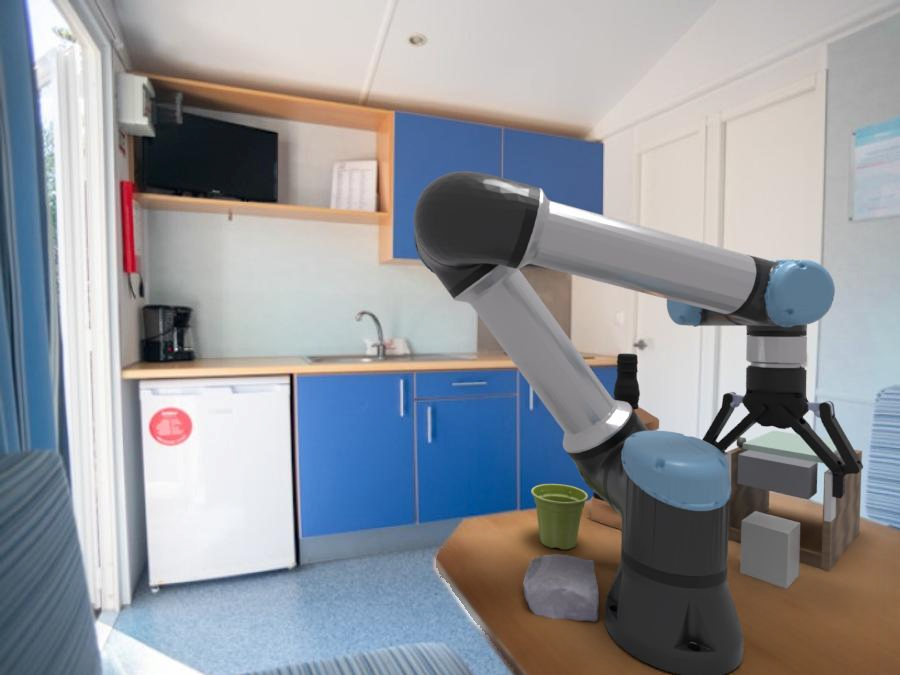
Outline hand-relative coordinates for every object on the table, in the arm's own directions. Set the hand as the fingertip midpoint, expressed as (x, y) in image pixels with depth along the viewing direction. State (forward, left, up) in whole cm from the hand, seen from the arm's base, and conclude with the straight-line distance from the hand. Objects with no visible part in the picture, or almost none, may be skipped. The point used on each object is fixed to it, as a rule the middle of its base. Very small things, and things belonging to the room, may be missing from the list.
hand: (773, 505), depth 74 cm
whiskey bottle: (+2, +25, -11) cm, 27 cm away
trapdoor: (+18, +2, 0) cm, 18 cm away
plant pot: (-16, +27, -11) cm, 33 cm away
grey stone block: (0, 0, -11) cm, 10 cm away
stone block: (-30, +17, -11) cm, 36 cm away
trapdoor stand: (+19, +2, -10) cm, 22 cm away
